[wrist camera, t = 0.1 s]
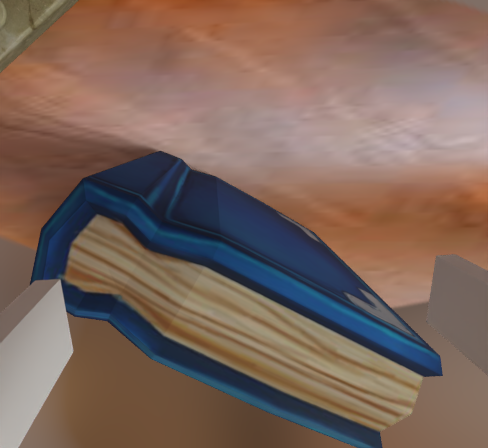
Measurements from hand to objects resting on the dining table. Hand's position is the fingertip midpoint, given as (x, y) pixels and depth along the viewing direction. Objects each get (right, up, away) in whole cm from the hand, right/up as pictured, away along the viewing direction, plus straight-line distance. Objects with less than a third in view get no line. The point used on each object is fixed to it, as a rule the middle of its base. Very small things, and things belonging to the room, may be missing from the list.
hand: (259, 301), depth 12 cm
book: (-3, +4, +28) cm, 28 cm away
